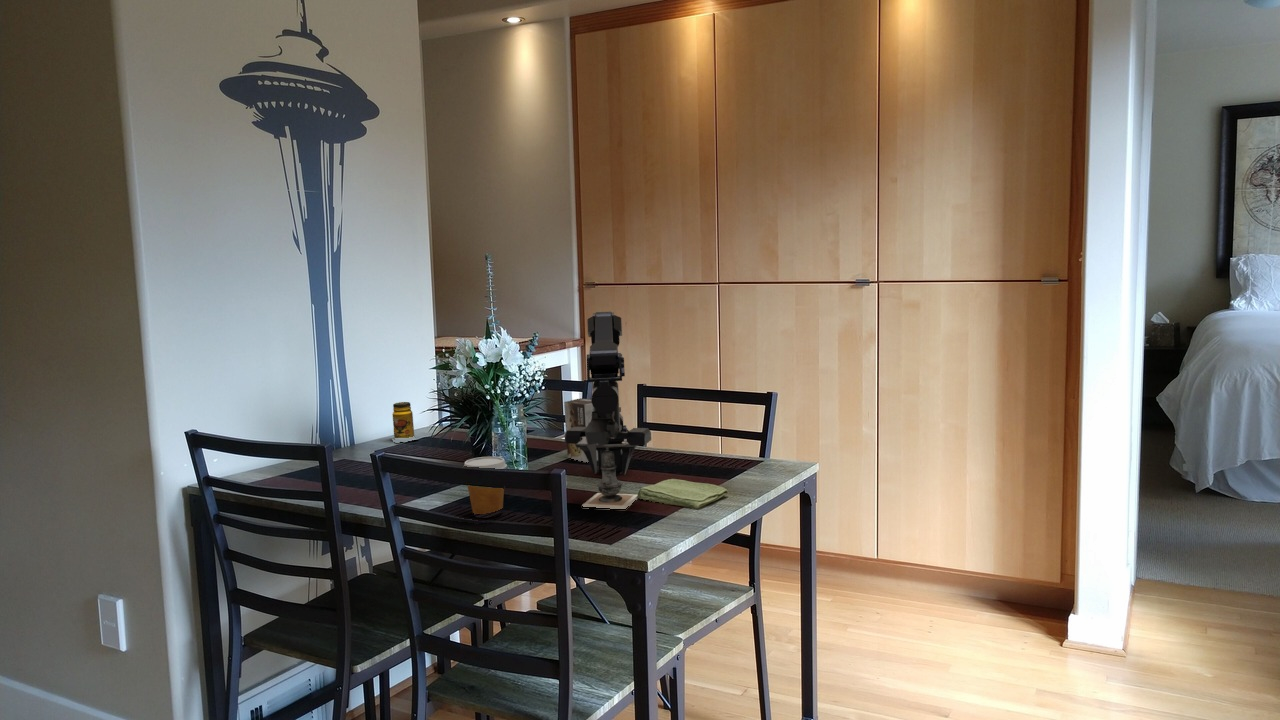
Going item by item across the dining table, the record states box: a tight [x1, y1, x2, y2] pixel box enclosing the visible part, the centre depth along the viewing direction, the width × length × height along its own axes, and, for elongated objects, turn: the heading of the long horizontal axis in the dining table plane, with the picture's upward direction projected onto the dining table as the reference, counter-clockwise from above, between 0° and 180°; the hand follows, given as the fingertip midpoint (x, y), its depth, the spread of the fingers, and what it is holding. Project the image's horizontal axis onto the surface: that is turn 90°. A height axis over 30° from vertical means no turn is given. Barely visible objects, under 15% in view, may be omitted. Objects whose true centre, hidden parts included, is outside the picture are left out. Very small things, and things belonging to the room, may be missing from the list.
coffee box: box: [563, 398, 598, 464], centre depth 247 cm, size 9×6×16 cm
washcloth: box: [637, 478, 729, 510], centre depth 205 cm, size 13×18×3 cm
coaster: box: [581, 492, 640, 510], centre depth 204 cm, size 10×10×1 cm
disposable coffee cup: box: [463, 456, 508, 514], centre depth 198 cm, size 10×10×12 cm
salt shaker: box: [596, 447, 624, 502], centre depth 203 cm, size 6×6×12 cm
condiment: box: [392, 401, 415, 439], centre depth 283 cm, size 7×8×12 cm
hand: (609, 473), depth 203 cm, fingers open, 7 cm apart
